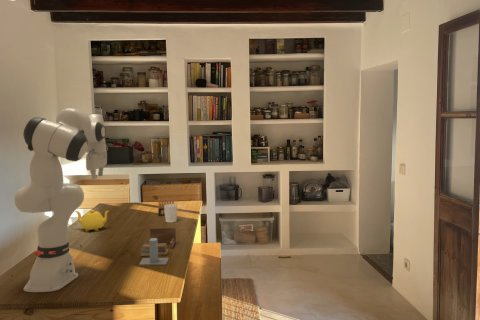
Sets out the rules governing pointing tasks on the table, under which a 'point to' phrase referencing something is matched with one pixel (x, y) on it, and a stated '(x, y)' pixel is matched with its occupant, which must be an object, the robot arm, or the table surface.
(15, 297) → the table surface
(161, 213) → the ammunition clip
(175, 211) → the white cup
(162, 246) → the offcut stack
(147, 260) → the felt mat
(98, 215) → the teapot
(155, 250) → the batten
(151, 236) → the walnut rack
